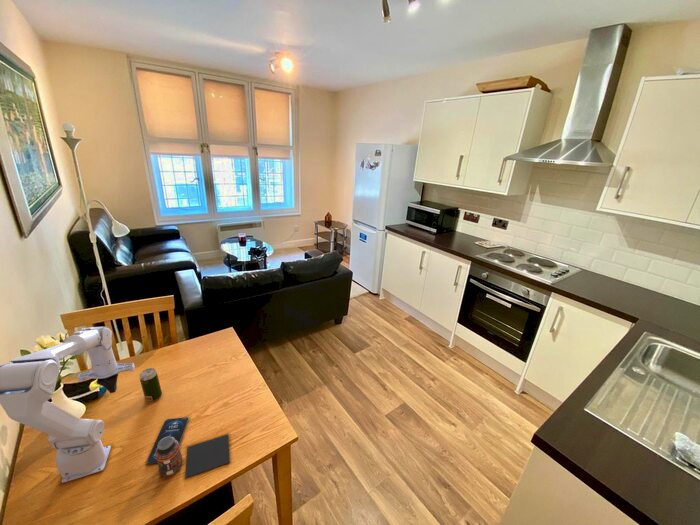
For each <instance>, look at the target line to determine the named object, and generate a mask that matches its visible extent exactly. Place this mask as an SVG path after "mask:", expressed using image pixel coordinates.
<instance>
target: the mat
mask: <svg viewBox="0 0 700 525" xmlns="http://www.w3.org/2000/svg"><path fill="white" fill-rule="evenodd" d="M230 459H231V458H230V440H229V434H224V435H221V436H218V437H215V438H211V439H208V440H205V441H202V442H199V443H195V444H193V445H189V446H187V455H186V469H185V479H188V478H191V477H194V476H196V475H199V474H202V473H205V472H208V471H211V470H213V469H216V468H219V467H222V466H226V465H227V464H228V465H229V464H230V463H231V460H230Z"/></svg>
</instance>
